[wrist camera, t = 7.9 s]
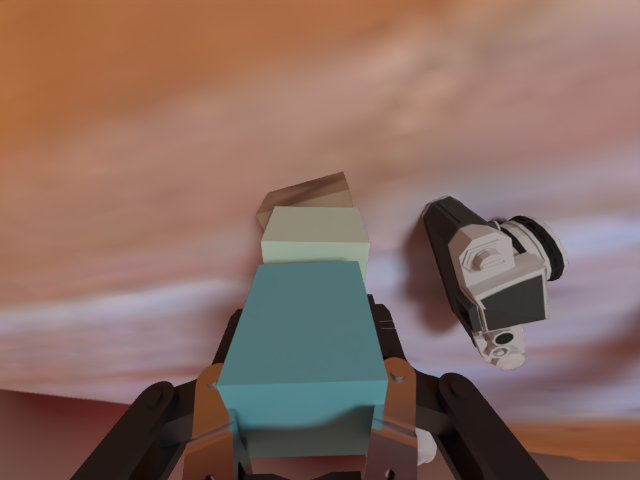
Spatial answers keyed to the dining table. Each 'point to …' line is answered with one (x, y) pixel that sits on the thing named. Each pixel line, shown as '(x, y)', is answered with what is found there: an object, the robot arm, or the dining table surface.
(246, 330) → the teal block
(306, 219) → the sage block
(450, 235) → the camera
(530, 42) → the dining table surface
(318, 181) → the walnut base block
